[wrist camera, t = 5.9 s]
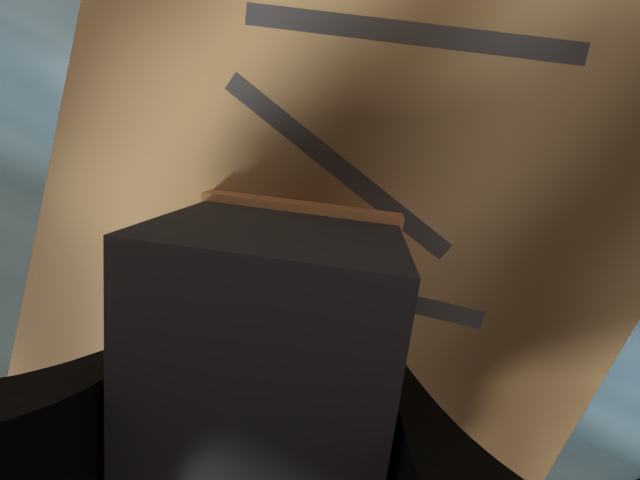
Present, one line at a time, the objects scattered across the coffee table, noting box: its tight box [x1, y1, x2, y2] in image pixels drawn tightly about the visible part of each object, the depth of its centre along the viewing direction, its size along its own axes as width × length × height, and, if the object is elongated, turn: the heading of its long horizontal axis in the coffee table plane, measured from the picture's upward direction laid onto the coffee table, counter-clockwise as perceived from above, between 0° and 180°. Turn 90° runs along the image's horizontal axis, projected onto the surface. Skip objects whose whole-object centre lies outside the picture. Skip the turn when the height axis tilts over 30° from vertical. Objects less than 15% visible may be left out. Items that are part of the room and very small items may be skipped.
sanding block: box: [103, 189, 421, 480], centre depth 10 cm, size 5×9×5 cm, turn 173°
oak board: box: [8, 0, 640, 480], centre depth 11 cm, size 16×24×1 cm, turn 160°
